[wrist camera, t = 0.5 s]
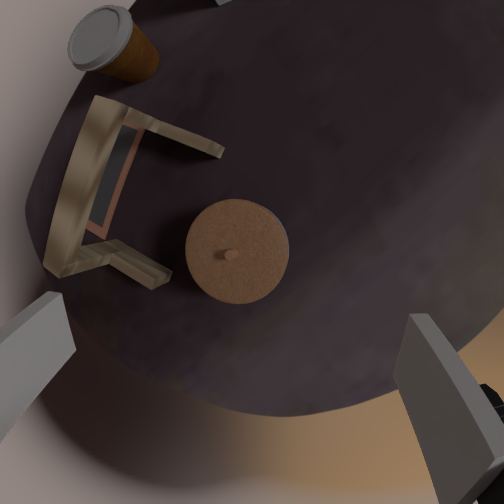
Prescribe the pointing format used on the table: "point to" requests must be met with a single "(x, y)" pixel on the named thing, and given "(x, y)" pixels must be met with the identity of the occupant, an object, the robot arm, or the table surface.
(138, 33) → the disposable coffee cup
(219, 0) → the syrup box
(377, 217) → the table surface
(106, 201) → the framed chalkboard
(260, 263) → the lidded jar
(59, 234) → the tunnel
